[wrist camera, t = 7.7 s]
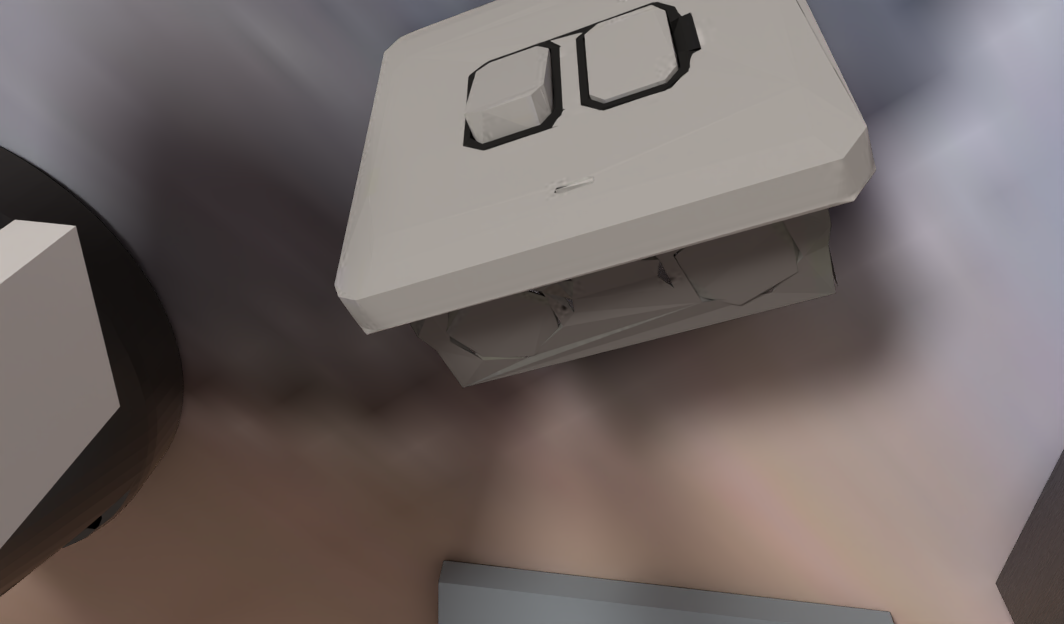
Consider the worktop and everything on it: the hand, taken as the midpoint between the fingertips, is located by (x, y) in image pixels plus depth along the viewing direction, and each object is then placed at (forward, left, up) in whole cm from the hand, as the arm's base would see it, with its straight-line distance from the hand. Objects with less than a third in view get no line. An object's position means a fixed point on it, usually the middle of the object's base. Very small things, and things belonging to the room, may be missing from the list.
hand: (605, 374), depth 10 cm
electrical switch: (0, 0, -13) cm, 13 cm away
